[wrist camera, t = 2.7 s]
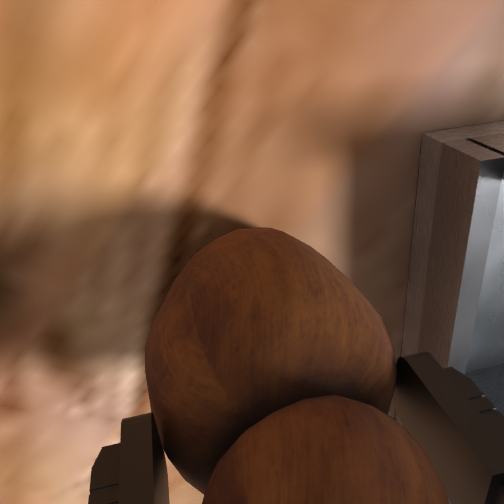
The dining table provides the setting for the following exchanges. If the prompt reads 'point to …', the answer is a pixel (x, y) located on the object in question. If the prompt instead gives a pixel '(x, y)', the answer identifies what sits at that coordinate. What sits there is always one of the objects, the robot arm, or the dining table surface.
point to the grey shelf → (460, 256)
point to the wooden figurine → (279, 381)
